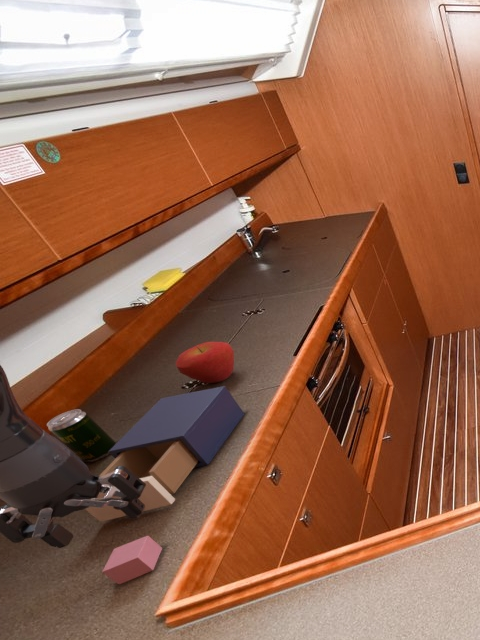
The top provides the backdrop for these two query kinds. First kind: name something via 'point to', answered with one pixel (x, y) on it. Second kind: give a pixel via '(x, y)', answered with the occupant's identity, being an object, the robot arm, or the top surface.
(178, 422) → the cabinet
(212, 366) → the apple
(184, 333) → the top surface
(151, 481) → the drawer
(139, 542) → the block
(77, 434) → the beer can
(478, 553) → the top surface
